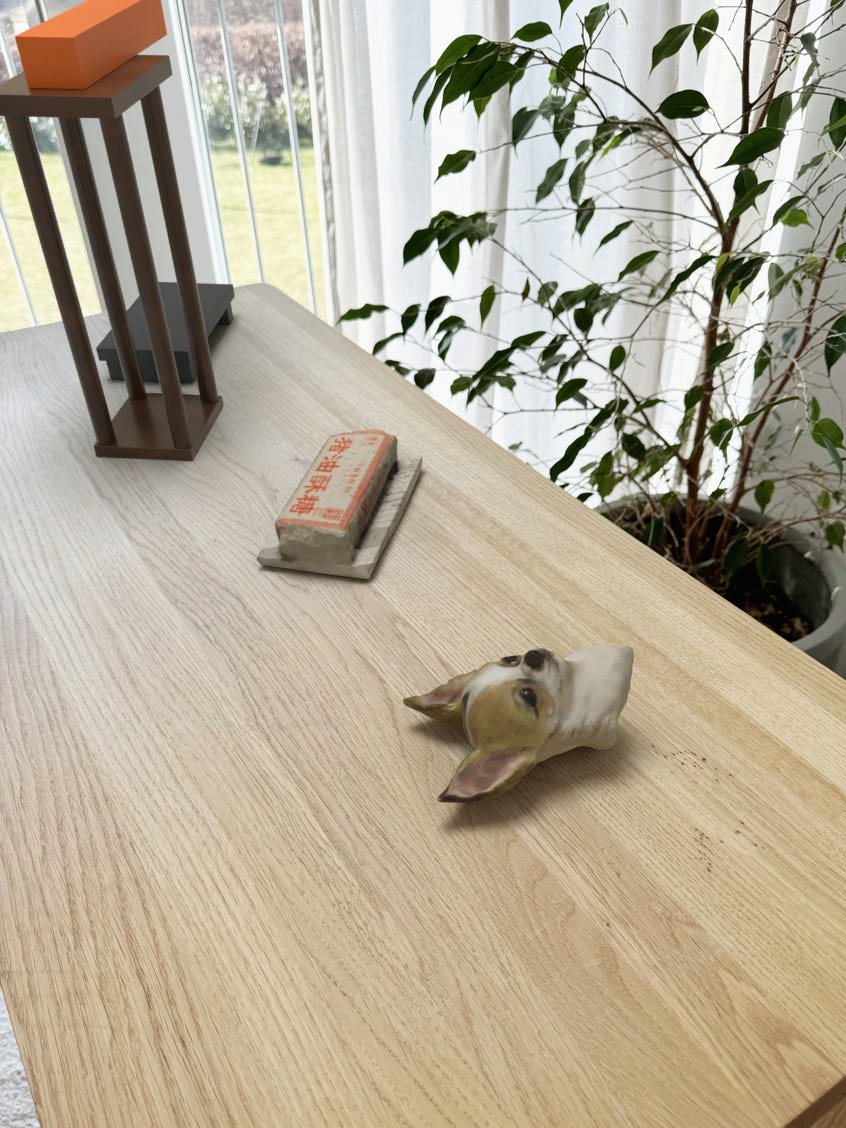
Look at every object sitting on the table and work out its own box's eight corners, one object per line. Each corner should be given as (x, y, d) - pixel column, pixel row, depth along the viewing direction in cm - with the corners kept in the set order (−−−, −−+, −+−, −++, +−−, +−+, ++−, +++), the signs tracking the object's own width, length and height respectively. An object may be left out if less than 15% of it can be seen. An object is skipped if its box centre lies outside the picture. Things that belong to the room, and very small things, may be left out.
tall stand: (139, 392, 107) (55, 52, 86) (230, 396, 107) (169, 55, 86) (90, 461, 97) (-19, 94, 76) (191, 466, 96) (110, 97, 75)
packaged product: (367, 535, 79) (248, 521, 81) (372, 584, 83) (257, 569, 84) (422, 423, 93) (319, 413, 94) (424, 469, 96) (325, 458, 97)
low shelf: (158, 313, 123) (150, 281, 120) (238, 316, 122) (233, 284, 119) (104, 382, 109) (95, 347, 106) (194, 386, 109) (187, 351, 106)
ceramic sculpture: (669, 683, 61) (431, 746, 58) (660, 776, 67) (444, 837, 64) (603, 580, 69) (390, 632, 66) (600, 672, 74) (405, 722, 72)
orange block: (119, 34, 92) (110, -11, 90) (167, 35, 92) (159, -11, 89) (28, 88, 77) (14, 36, 75) (85, 89, 77) (72, 37, 74)
